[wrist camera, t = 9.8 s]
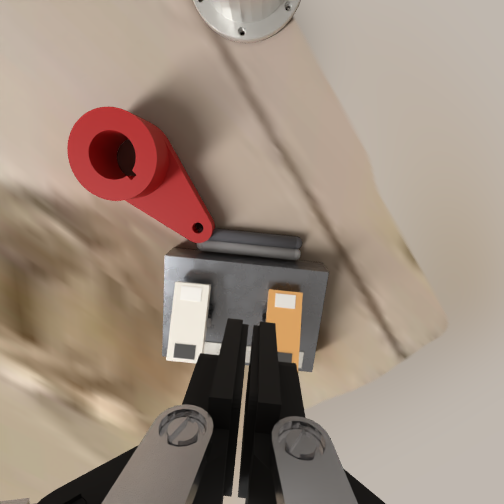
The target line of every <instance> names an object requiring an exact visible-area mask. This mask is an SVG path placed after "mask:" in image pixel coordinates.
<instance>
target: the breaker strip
mask: <svg viewBox="0 0 504 504" xmlns="http://www.w3.org/2000/svg"><path fill="white" fill-rule="evenodd" d="M328 274H329V272H328V270H327V269H326V267H325V265H324V264H323V263H321V262H311V261H301V260H287V259H277V258H268V257H258V256H248V255H238V254H229V253H219V252H209V251H201V250H194V249H184V248H173V249H172V250H170V251H169V252H168V253H167V254H166V255H165V270H164V310H163V349H162V356H165V357H167V349H168V340H169V331H170V323H169V318H170V315H171V314H172V305H173V296H174V288H175V282H177V281H181V282H191V283H200V284H210V285H211V291H210V301H209V310H208V318H211V324H210V327H207V328H206V337H205V347H204V354H213V355H219V353H220V349H221V344H222V340H223V336H224V332H225V328H226V324H227V319H228V318H231V319H241V320H243V324H249V326H248V337H247V347H246V357H245V365H249V362H250V353H251V344H252V335H253V326H254V325H259V324H260V322H266V312H267V301H268V291H269V289H271V290H281V291H291V292H300V293H303V297H302V314H301V328H302V329H303V333H302V337H301V336H300V348H299V365H298V371H306V372H312V369H313V363H314V358H315V352H316V346H317V340H318V334H319V328H320V322H321V316H322V310H323V304H324V298H325V292H326V286H327V280H328Z"/></svg>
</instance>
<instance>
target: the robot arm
mask: <svg viewBox="0 0 504 504" xmlns="http://www.w3.org/2000/svg"><path fill="white" fill-rule="evenodd" d="M199 1H200V0H193V2H194V4H195V6H196V8H197V10H198V12H199V14H200V16H201V17H202V18H203V20H204V21H205V23H206V24H207V25H208V26H209V27H210V28H211V29H212V30H214V31H215V32H216V33H218V34H219V35H221V36H222V37H224V38H227V39H229V40H232V41H236V42H242V43H250V42H257V41H261V40H264V39H267V38H269V37H271V36H272V35H274V34H276V33H277V32H278V31H280V30H281V29H282V28H283V27H284V26H285V25H286V24H287V23H288V22H289V20H290V19H291V18H292V17H293V15H294V13H295V12H296V10H297V8H298V6H299V3H300V1H301V0H203V1H202V2H200V3H199ZM286 8H290V11H287V10H286ZM241 32H244V33H245V34H244V36H241V35H240V33H241ZM248 326H249V324H243V320H241V319H231V318H228V319H227V324H226V328H225V332H224V336H223V340H222V344H221V349H220V353H219V355H213V354H204V353H200V355H199V357H198V360H197V363H196V366H195V369H194V371H193V374H192V377H191V380H190V383H189V386H188V389H187V392H186V395H185V398H184V400H183V403H182V405H177V406H174V407H171V408H168V409H167V410H165V411H164V412H162V413H161V414H160V415H159V416H158V417H157V418H156V419H155V421H154V422H153V424H152V425H151V427H150V428H149V430H148V432H147V433H146V435H145V436H144V438H143V439H142V441H141V443H140V444H139V445H138V446H136V447H134V448H132V449H131V450H129V451H127V452H125V453H123V454H121V455H119V456H118V457H116V458H114V459H112V460H110V461H108V462H106V463H105V464H103V465H101V466H99V467H97V468H95V469H93V470H92V471H90V472H88V473H86V474H84V475H82V476H80V477H78V478H77V479H75V480H73V481H71V482H69V483H67V484H65V485H64V486H62V487H60V488H58V489H56V490H54V491H53V492H51V493H50V494H48V495H47V496H45V497H44V498H42V499H41V500H40V501H39V502H38V503H35V504H222V503H223V496H231V495H232V486H233V476H234V466H235V456H236V447H237V437H238V428H239V418H240V408H241V398H242V388H243V378H244V368H245V357H246V347H247V337H248ZM238 497H241V498H246V502H245V504H385V503H384V502H383V501H382V500H380V499H379V498H378V497H377V496H376V495H375V494H373V493H372V492H371V491H370V490H369V489H367V488H366V487H365V486H364V485H363V484H361V483H360V482H359V481H358V480H356V479H355V478H354V477H353V476H352V475H350V474H349V473H348V472H347V471H345V470H344V469H343V467H342V465H341V462H340V460H339V457H338V455H337V453H336V450H335V448H334V446H333V443H332V441H331V438H330V437H329V435H328V433H327V432H326V431H325V430H324V429H323V428H322V427H321V426H320V425H319V424H317V423H315V422H314V421H312V420H310V419H307V418H305V413H304V407H303V401H302V395H301V389H300V383H299V377H298V371H297V365H296V363H289V362H280V361H278V351H277V338H276V324H275V323H269V322H260V324H259V325H254V326H253V335H252V344H251V353H250V362H249V372H248V381H247V390H246V401H245V414H244V426H243V439H242V452H241V466H240V479H239V491H238ZM0 504H30V502H29V498H25V499H17V500H8V501H0Z"/></svg>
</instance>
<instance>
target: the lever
mask: <svg viewBox="0 0 504 504" xmlns="http://www.w3.org/2000/svg"><path fill="white" fill-rule="evenodd" d="M128 139H129V140H130V141H131V143H132V144H133V147H134V149H135V154H136V161H135V165H134V168H133V169H132V171H133V172H134V173H135V174H136V176H126V175H125V174H124V173H123V172H122V171H121V169H120V167H119V165H118V162H117V152H118V149H119V147H120V146H121V144H122V143H123V142H124V141H126V140H128ZM68 159H69V163H70V166H71V169H72V171H73V173H74V175H75V177H76V178H77V180H78V181H79V182H80V183H81V185H82V186H83V187H84V188H86V189H87V190H88V191H89V192H91V193H92V194H94V195H96V196H98V197H100V198H103V199H106V200H112V201H121V200H125V201H127V202H129V203H130V204H132V205H133V206H135V207H137V208H138V209H140V210H141V211H143V212H145V213H146V214H148V215H150V216H151V217H153V218H154V219H156V220H158V221H159V222H161V223H162V224H164V225H166V226H167V227H169V228H171V229H172V230H174V231H175V232H177V233H179V234H180V235H182V236H183V237H185V238H187V239H188V240H190V241H192V242H194V243H203V242H205V241H207V240H208V239H209V238H210V237H211V235H212V233H213V230H214V228H215V223H214V220H213V219H212V217H211V215H210V213H209V211H208V210H207V208H206V206H205V204H204V203H203V201H202V199H201V197H200V195H199V194H198V192H197V190H196V188H195V186H194V185H193V183H192V181H191V179H190V177H189V176H188V174H187V172H186V170H185V169H184V167H183V165H182V163H181V161H180V160H179V158H178V156H177V154H176V152H175V151H174V149H173V147H172V145H171V144H170V142H169V140H168V138H167V137H166V135H165V134H164V133H163V132H162V131H161V130H160V129H159V128H158V127H157V126H155V125H154V124H152V123H150V122H148V121H146V120H144V119H142V118H140V117H138V116H136V115H134V114H132V113H130V112H128V111H125V110H123V109H120V108H116V107H100V108H96V109H93V110H91V111H89V112H87V113H85V114H84V115H83V116H82V117H81V118H80V119H79V120H78V121H77V122H76V123H75V125H74V126H73V128H72V130H71V133H70V136H69V140H68ZM196 223H201V224H202V225H203V231H202V232H198V229H197V228H196Z"/></svg>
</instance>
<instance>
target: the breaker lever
mask: <svg viewBox="0 0 504 504" xmlns="http://www.w3.org/2000/svg"><path fill="white" fill-rule="evenodd" d="M302 297H303V293H300V292H291V291H281V290H271V289H269V291H268V301H267V312H266V322H269V323H275V324H276V338H277V351H278V361H280V362H289V363H296V365H297V371H298V365H299V348H300V336H301V337H302V333H303V329H302V328H301V314H302Z"/></svg>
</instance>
